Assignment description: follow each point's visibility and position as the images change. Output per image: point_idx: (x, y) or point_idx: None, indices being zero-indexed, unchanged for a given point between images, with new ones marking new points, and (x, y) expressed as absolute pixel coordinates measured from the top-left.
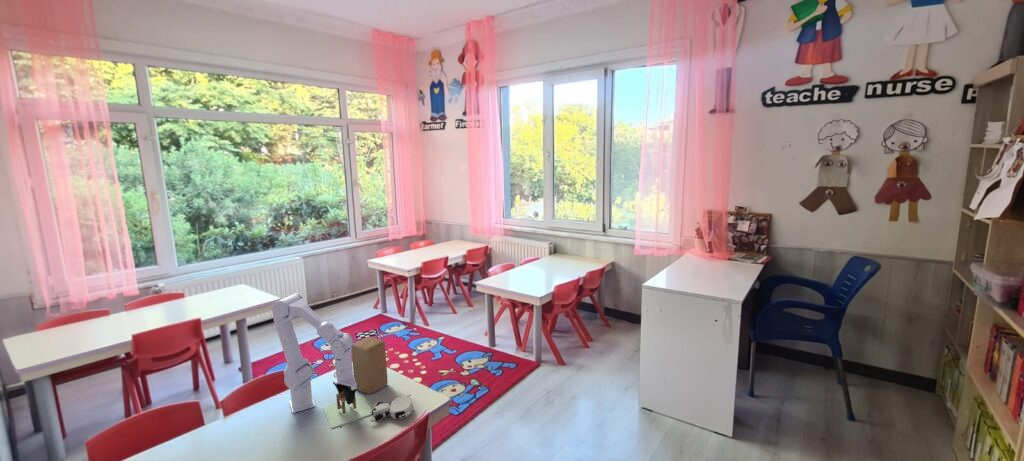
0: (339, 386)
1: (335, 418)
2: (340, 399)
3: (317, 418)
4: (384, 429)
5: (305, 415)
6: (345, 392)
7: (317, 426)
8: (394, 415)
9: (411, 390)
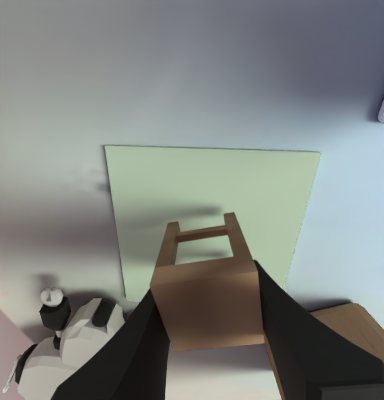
0: (283, 355)
1: (175, 183)
2: (183, 269)
3: (245, 105)
4: (20, 296)
5: (332, 44)
6: (56, 389)
7: (167, 87)
8: (33, 351)
9: (195, 395)
